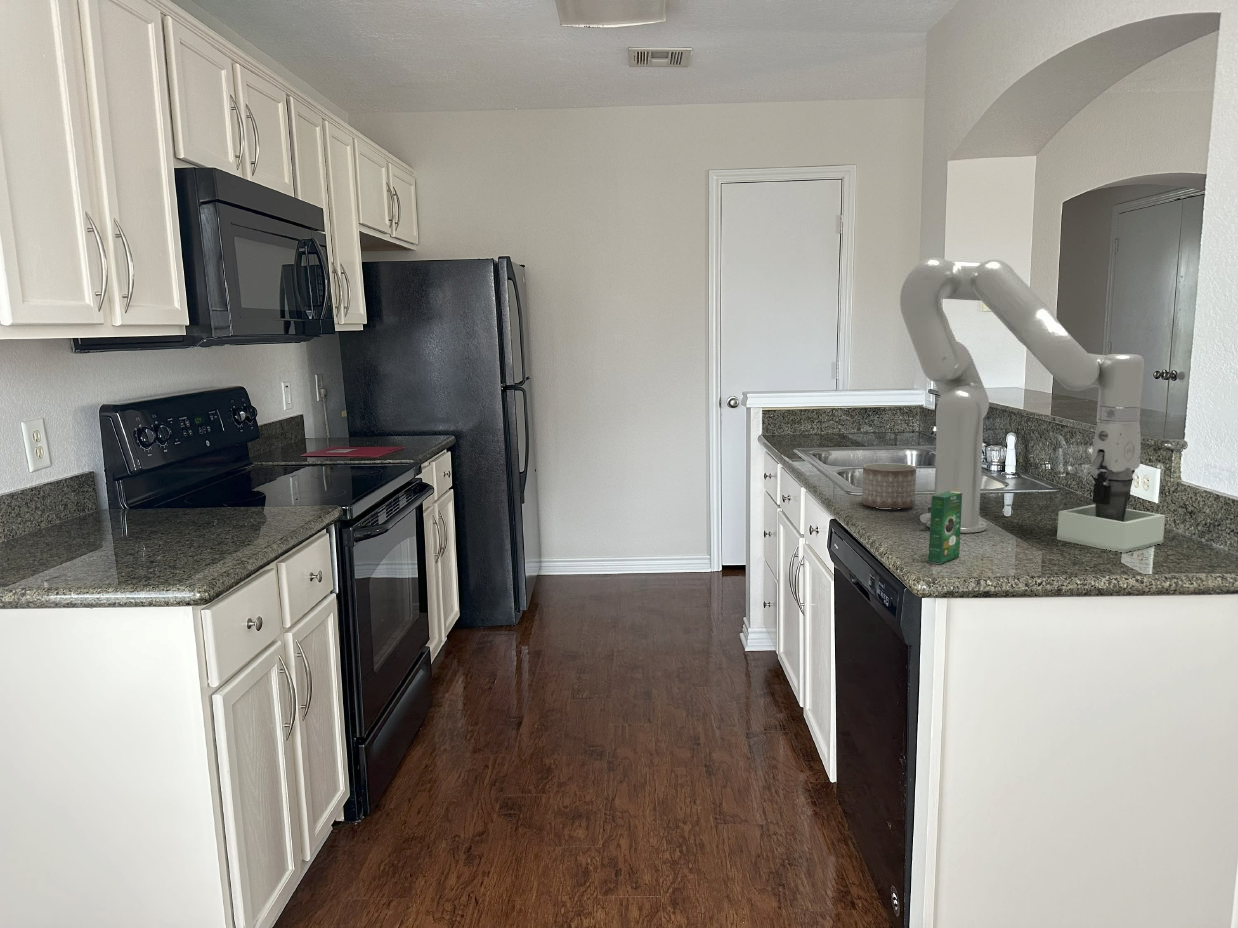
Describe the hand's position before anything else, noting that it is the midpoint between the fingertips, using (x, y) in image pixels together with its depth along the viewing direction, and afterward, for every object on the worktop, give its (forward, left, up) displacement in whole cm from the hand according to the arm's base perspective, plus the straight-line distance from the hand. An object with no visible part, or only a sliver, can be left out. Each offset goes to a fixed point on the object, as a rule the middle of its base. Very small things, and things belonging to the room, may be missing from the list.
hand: (1111, 501), depth 177 cm
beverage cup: (0, 0, -7) cm, 7 cm away
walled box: (0, 0, -9) cm, 9 cm away
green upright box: (-40, +9, -9) cm, 42 cm away
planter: (-10, +50, -9) cm, 52 cm away
